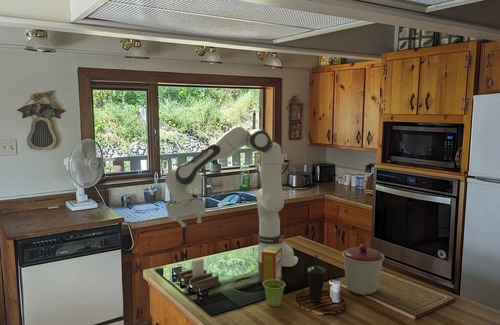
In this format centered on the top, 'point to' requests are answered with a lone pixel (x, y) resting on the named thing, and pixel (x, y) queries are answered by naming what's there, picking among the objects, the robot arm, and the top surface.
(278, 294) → the plant pot
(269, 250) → the baking soda box
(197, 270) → the clay tile
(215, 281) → the rack
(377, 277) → the canister
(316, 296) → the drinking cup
